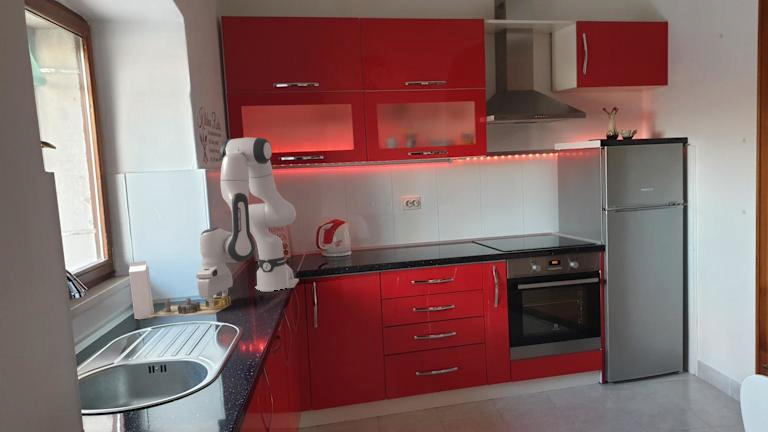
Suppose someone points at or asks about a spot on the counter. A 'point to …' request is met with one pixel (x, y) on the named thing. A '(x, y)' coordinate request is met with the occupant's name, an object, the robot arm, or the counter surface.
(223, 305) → the toothed rectangular frame
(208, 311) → the gear board
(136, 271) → the milk
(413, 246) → the counter surface
